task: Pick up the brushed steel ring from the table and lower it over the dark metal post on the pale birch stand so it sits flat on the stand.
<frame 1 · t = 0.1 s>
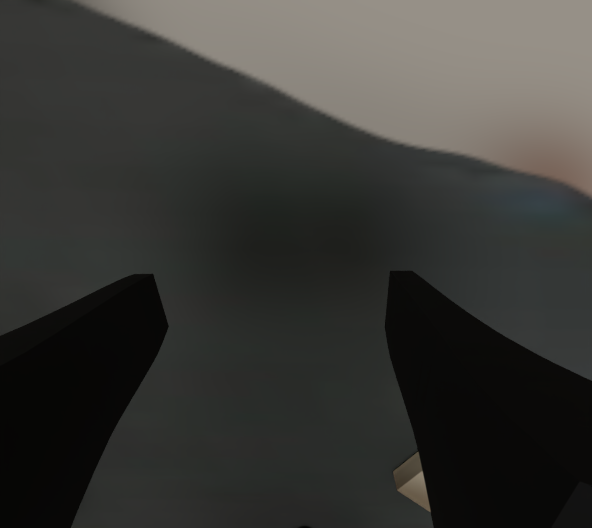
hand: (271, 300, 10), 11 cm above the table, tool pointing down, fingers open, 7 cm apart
post stand: (498, 468, 25), on the table
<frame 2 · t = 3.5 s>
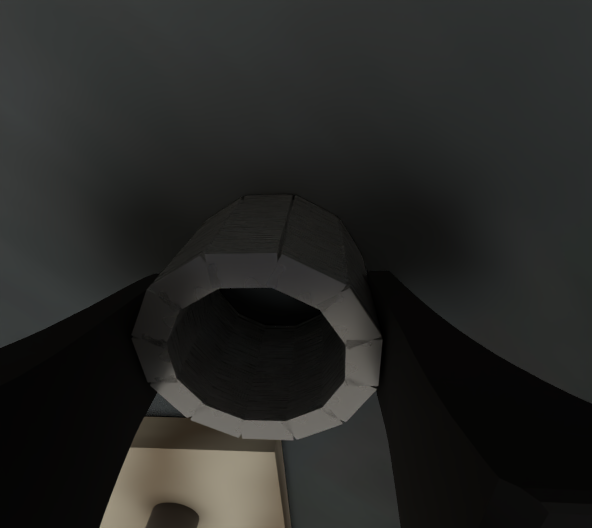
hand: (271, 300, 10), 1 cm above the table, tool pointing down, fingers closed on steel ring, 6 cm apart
steel ring: (276, 277, 11), on the table, touching gripper
post stand: (186, 483, 18), on the table
when the fingers open (4 cm above the table, at t = 8.7 s): steel ring stays where it is, resting on post stand.
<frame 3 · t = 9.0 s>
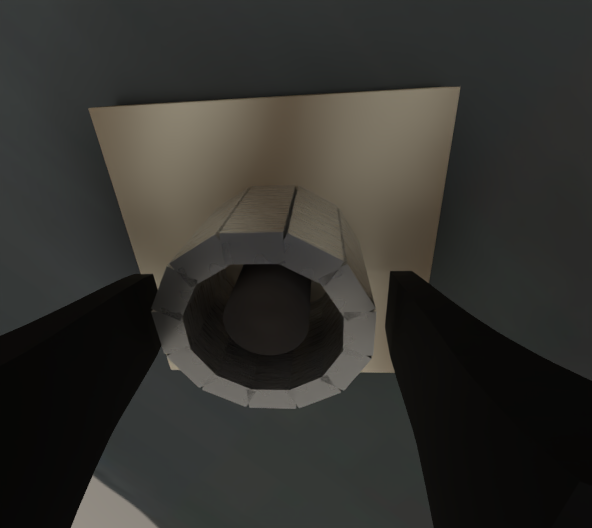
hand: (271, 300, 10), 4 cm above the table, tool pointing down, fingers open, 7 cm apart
steel ring: (279, 262, 12), point 1 cm above the table, touching post stand
post stand: (283, 246, 14), on the table
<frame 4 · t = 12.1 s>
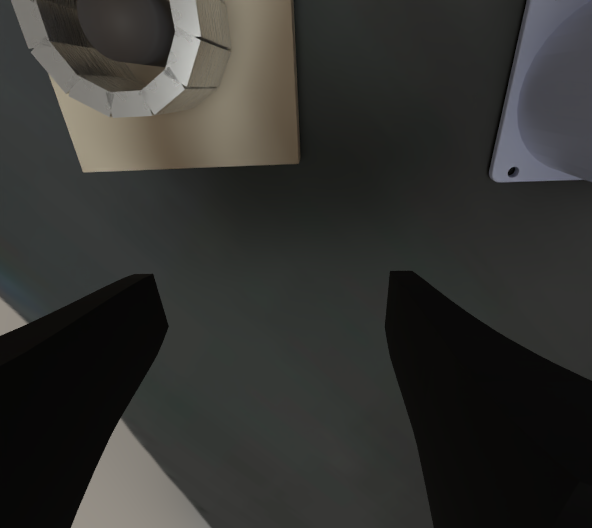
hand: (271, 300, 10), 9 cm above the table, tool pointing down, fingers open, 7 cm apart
steel ring: (160, 33, 14), point 1 cm above the table, touching post stand
post stand: (174, 38, 15), on the table
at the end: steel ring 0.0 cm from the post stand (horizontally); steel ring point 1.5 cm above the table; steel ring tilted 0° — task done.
